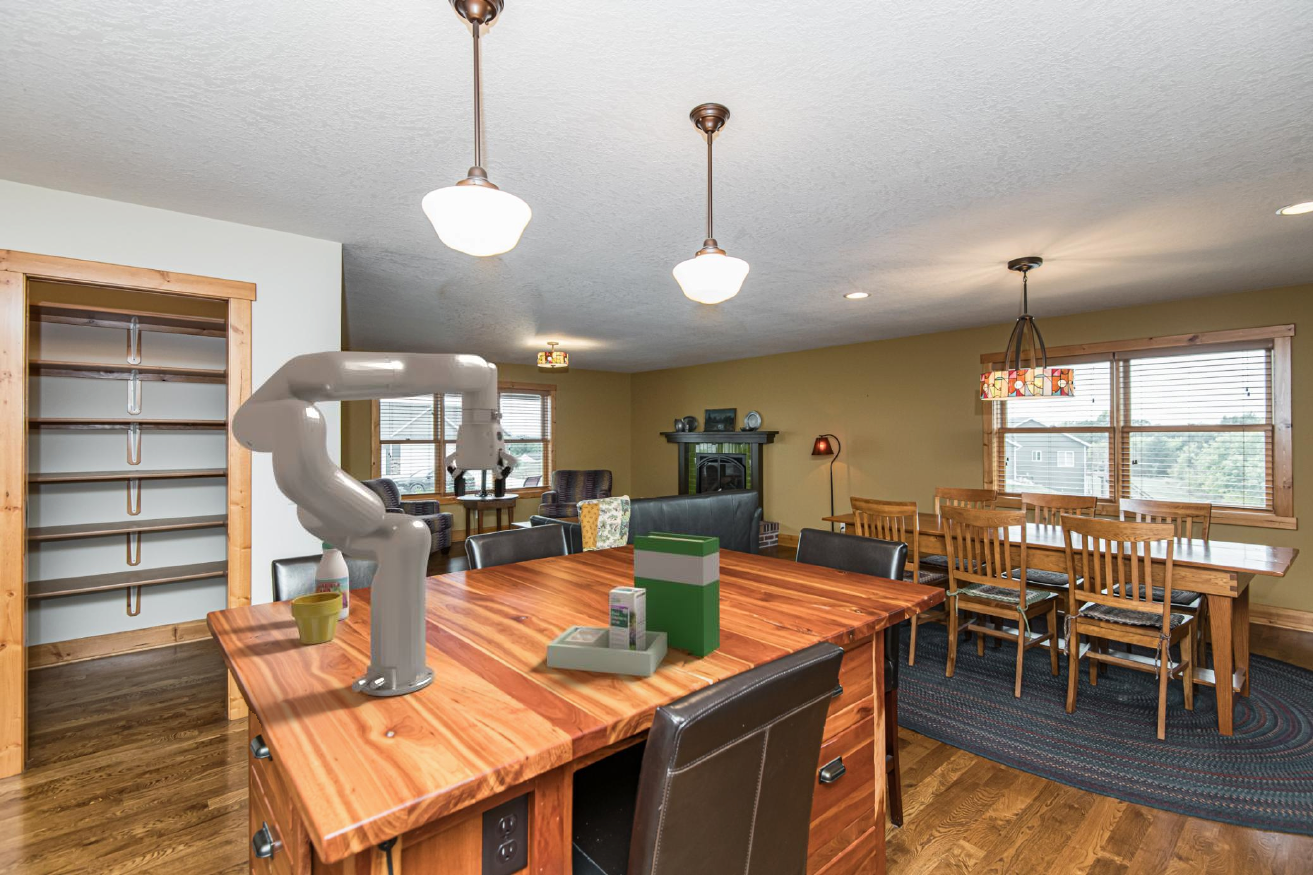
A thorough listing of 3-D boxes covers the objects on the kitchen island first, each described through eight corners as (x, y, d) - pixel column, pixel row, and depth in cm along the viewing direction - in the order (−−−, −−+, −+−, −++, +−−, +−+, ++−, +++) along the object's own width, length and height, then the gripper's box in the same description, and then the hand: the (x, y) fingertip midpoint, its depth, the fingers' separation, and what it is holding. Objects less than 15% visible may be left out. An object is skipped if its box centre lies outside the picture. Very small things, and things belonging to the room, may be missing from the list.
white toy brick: (592, 665, 117) (592, 639, 117) (564, 662, 119) (564, 636, 119) (606, 651, 125) (605, 627, 125) (579, 649, 126) (579, 625, 127)
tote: (650, 680, 112) (650, 654, 112) (546, 670, 117) (546, 645, 117) (667, 656, 124) (666, 632, 124) (572, 648, 130) (572, 625, 130)
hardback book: (634, 643, 133) (633, 536, 133) (652, 634, 139) (651, 532, 140) (703, 657, 124) (703, 542, 124) (719, 647, 130) (719, 537, 130)
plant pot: (279, 645, 133) (279, 601, 133) (318, 631, 143) (318, 590, 143) (315, 649, 130) (316, 604, 130) (353, 635, 140) (353, 593, 140)
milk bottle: (316, 616, 155) (316, 540, 155) (349, 613, 158) (349, 538, 159) (313, 624, 148) (313, 544, 148) (348, 620, 151) (348, 542, 152)
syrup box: (608, 664, 118) (607, 591, 118) (622, 654, 123) (621, 584, 124) (633, 668, 116) (633, 593, 116) (646, 658, 121) (646, 587, 121)
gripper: (523, 418, 131) (523, 496, 131) (454, 419, 136) (454, 494, 135) (506, 417, 124) (507, 499, 124) (434, 418, 128) (434, 497, 128)
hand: (479, 496), depth 130 cm, fingers open, 9 cm apart
